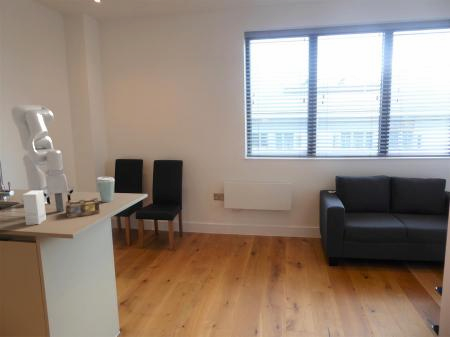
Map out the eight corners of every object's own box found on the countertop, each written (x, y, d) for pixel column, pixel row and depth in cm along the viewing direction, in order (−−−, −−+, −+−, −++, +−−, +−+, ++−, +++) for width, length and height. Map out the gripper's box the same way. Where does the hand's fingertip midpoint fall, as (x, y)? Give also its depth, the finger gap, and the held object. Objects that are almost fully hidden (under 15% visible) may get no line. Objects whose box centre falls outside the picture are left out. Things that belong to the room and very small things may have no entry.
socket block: (66, 218, 163) (65, 206, 162) (67, 212, 173) (65, 201, 172) (99, 213, 170) (98, 202, 169) (98, 208, 180) (97, 197, 179)
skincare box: (34, 220, 162) (30, 190, 159) (47, 219, 162) (44, 189, 160) (25, 225, 153) (21, 194, 151) (39, 224, 154) (35, 193, 152)
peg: (56, 212, 174) (54, 193, 172) (56, 210, 177) (54, 191, 175) (63, 211, 176) (61, 192, 174) (63, 210, 179) (61, 191, 177)
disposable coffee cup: (116, 198, 203) (114, 175, 201) (116, 202, 193) (114, 178, 191) (98, 200, 200) (96, 176, 197) (98, 204, 190) (95, 179, 187)
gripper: (37, 175, 166) (40, 206, 169) (73, 172, 173) (76, 202, 176) (38, 173, 173) (42, 203, 175) (73, 170, 180) (76, 199, 183)
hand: (59, 202), depth 176 cm, fingers open, 9 cm apart
